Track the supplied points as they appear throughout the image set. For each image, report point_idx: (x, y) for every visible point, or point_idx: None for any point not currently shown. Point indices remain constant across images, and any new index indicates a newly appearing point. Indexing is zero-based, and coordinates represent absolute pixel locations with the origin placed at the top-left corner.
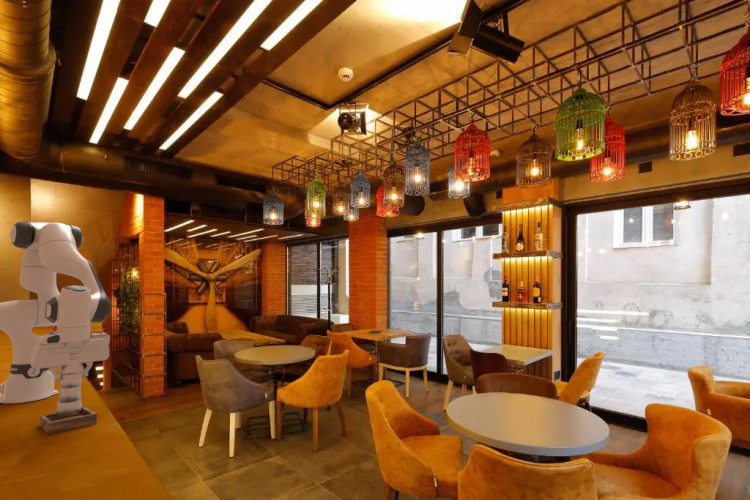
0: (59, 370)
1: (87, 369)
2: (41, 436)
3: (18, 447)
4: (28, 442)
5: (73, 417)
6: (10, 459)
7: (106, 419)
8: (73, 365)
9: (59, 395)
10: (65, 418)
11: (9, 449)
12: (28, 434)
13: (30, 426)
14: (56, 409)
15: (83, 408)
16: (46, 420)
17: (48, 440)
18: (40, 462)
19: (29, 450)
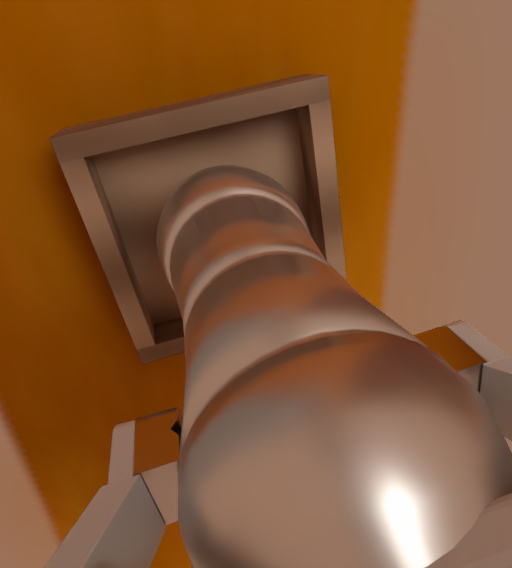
0: (184, 542)
1: (504, 431)
2: (114, 341)
3: (51, 429)
4: (75, 391)
5: (245, 153)
6: (60, 519)
7: (376, 241)
8: None
9: (178, 302)
10: (203, 142)
11: (21, 436)
12: (42, 275)
13: (4, 101)
14: (159, 258)
15: (311, 122)
16: (114, 286)
17: (151, 404)
18: (154, 560)
19: (102, 472)
